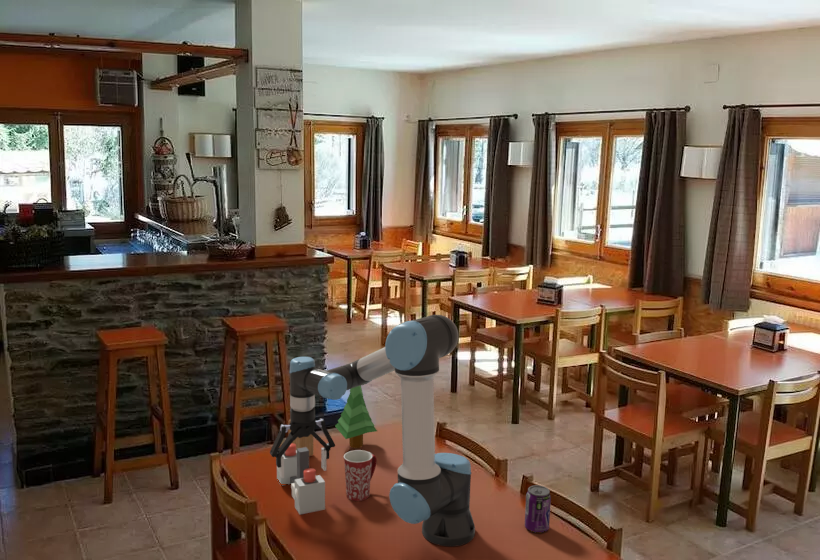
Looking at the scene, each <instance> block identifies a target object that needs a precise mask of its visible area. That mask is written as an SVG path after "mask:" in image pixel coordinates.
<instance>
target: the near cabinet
mask: <svg viewBox="0 0 820 560" xmlns="http://www.w3.org/2000/svg"><path fill="white" fill-rule="evenodd" d="M294 508H295V510H296V511H297V513H298V515H304V514H308V513H309V514H310V513H315V512H319V511H323V510H326V481H325V479H324V478H323V477H322V476H321V474H319V475H316V481H314V482H312V483H307V482H304V478H300V479H295V500H294Z"/></svg>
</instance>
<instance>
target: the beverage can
mask: <svg viewBox="0 0 820 560" xmlns="http://www.w3.org/2000/svg"><path fill="white" fill-rule="evenodd" d="M550 492H551V491H550V489H549V488H548V487H546V486H543V485H531V486H529V487H528V488H527V492H526V495H525V511H524V512H525V513H524V527H525V528H526V529H527V530H528V531H530V530H531V532H532V531H534V532H533V533H536V532H541V533H545V532H547V531H549V529H550V518H551V505H552V504H551V503H552V500H551V499H552V496H551V493H550ZM544 531H545V532H544Z"/></svg>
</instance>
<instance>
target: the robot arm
mask: <svg viewBox="0 0 820 560" xmlns="http://www.w3.org/2000/svg"><path fill="white" fill-rule="evenodd" d="M458 341H459V330H458V327H457V325H456V323H454V322H453V320H451V319H450V318H449V317H448V316H445V315H442V314H431V315H428V316H425V317H420V318H417V319H412V320H407V321H404V322H402V323H399V324H397V325H395V326H394V327H393V328H392V329H391V330H390V331H389V333H388V335H387V337H386V340H385V346H384V347H382V348H380V349H377V350H376V351H373V352H371V353H370V354H367V355H365V356H363V357H361V358H358V359H356V360H354V361H352V362H349V363H346V364H344V365H340V366H337V367H333V368H331V369H325V370H324V369H321V368H318V367H316V361H315V359H314V358H313V357H310V356H298V357H294V358H292V359H291V360H290V362H289V394H290V395H289V398H290V399H289V401H290V402H289V405H290V409H289V415H290V416H289V420H290V424H289V423H288V424H283V423H281V424H280V425H279V431H278V434H277V436H276V438H275V439H274V442H273V444H272V446H271V448H270V450H269V454H270V456H271V457H273V458H275V465H276V468H277V467H278V468H279V475H280V476H281V478H284V457H283V456H282V455H283V454H284V453H285V451H286V450H287V449H288V447H289V446H290V445H291V443H292V442H293V441H294V440H295V439H296V438H297V437H298V438H302V437H309V435H312V436H313V439H316V441H317V442H318V443H319V444H320V445H321V446H322V447H321V449H320V450H321V459H320V460H321V462H320V463H321V469H322V470H323V472H325V471H327V460H328V459H330V451H331V449H332V448H335V447H336V444H335V442H334V439H333V438H332V435H331V434H330V432H329V431H328V429H327V426H326V425H327V424H326V421H325V420H324V418H319V419H318V420H316V408H315V407H316V398H315V397H316V395H317V396H319V397H322V398H323V399H328V400H332V401H335V400H336V401H338V400H340V399H341V398H342V397H343V396H344V395H345V394H346V392H347V391H348V390H349V391H350V389H352V388H355V387H358V386H361V387H362V386H364V385H367V384H368V383H370V382H372V381H373V380H376V379H379V378H380V377H382V376H385V375H388V374H390V373H393V372H395V374H396V375H397V376H398V377H400V392H401V393H400V394H401V395H400V396H401V429H402V430H401V432H402V433H401V438H402V464H400V466H399V467H398V468H397V482H396V483H394V484H393V486H392V487H391V488H390V490H389V494H388V496H389V502H390V506H391V509H393V511H394V513H396V515H397V516H398V517H399V518H400V519H401V520H403V522H404V523H405V522H406V523H407V524H412V525H415V524H420V523H422V525H421V533H422V537H424V538H425V539H426V540H427V541H428V542H430V543H431V544H435V545H438V546H443V547H458V546H459V547H460V546H464V545H466V544H469V542H471V541H472V540H473V539H474V537H475V535H476V534H475V533H476V530H475V529H476V525H475V522H474V519H473V516H472V512H471V509H470V508H471V507H470V504H471V503H470V502H471V482H472V481H471V479H472V465H471V464H472V463H471V462H470V461H469V459H468V458H467V457H465V456H463V455H460V454H457V453H451V452H437V453H436V449H435V448H436V445H435V442H436V441H435V438H436V437H435V398H434V395H435V394H434V388H435V387H434V381H435V380H434V378H435V377H436V376H437V374H439V371H440V359H441V358H443V357H446V356H448V355H449V354H451V353H452V352H453V351H454V350H455V348H456V347H457V345H458ZM317 426H318V428H320V429H321V431H322V433H323V435H324V437H325V439H326V440H327V443H326V442H325V440H324V439H322V437H321V436H319V434H317V432H315V428H316V427H317ZM289 429H290V430H291V432H290V433H289ZM286 433H288V435H287V438H285V436H286ZM284 439H285V440H284ZM283 440H284V441H283Z"/></svg>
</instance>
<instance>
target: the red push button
mask: <svg viewBox="0 0 820 560" xmlns="http://www.w3.org/2000/svg"><path fill="white" fill-rule="evenodd" d="M285 455H286V456H295V455H296V444H293V443H291V445H290V446H289V447H288V449H287V450H286V451H285Z"/></svg>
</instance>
